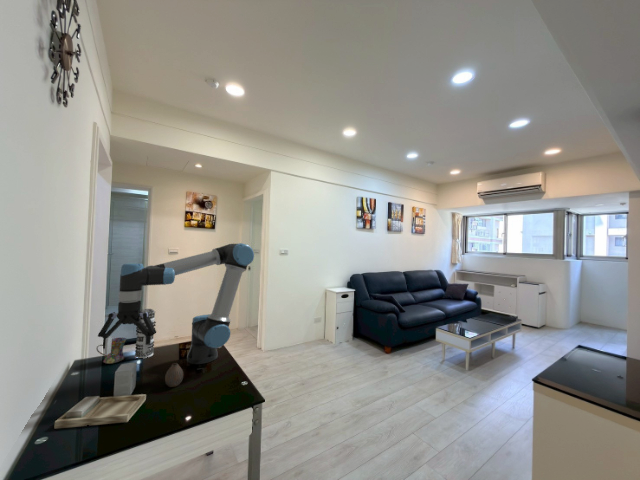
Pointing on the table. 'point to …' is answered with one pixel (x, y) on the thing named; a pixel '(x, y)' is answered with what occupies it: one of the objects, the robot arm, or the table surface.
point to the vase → (174, 375)
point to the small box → (125, 379)
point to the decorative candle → (140, 336)
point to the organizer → (101, 411)
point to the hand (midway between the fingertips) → (126, 353)
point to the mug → (114, 351)
